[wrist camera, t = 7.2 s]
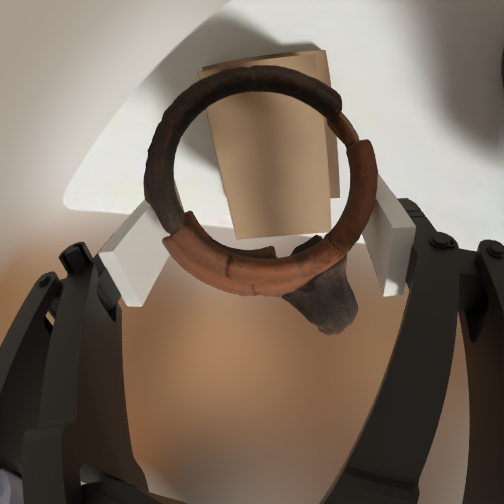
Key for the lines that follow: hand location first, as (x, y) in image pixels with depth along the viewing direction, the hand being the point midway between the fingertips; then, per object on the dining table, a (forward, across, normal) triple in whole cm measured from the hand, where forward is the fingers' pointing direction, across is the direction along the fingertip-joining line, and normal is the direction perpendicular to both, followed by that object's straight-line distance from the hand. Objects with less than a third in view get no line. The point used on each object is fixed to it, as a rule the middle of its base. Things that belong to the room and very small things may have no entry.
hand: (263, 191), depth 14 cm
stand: (+17, 0, 0) cm, 17 cm away
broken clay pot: (+1, -1, 0) cm, 1 cm away
